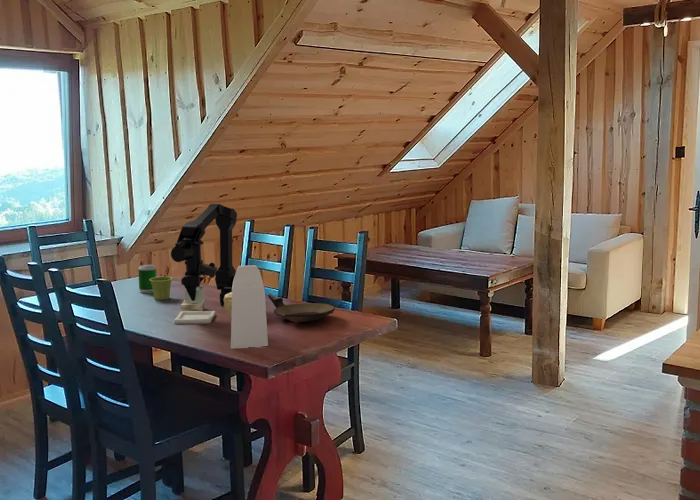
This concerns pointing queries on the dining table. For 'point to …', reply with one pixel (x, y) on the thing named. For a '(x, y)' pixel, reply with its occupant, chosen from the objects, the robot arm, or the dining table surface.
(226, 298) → the sculpture
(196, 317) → the tray
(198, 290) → the narrow bore block
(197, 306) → the wide bore block
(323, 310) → the oil lamp
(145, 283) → the soda can
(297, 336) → the dining table surface
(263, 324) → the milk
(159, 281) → the plant pot
